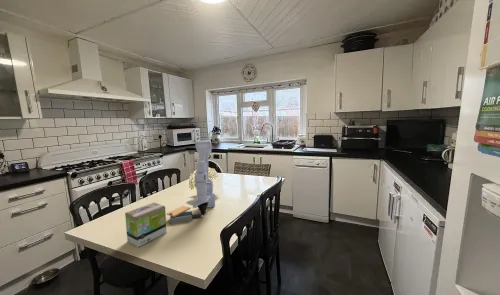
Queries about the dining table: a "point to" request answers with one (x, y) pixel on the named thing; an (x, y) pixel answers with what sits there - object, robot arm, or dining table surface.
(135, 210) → the tea box
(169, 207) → the dining table surface
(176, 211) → the cover
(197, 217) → the dark grey rounded rod
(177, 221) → the grey angled bars
